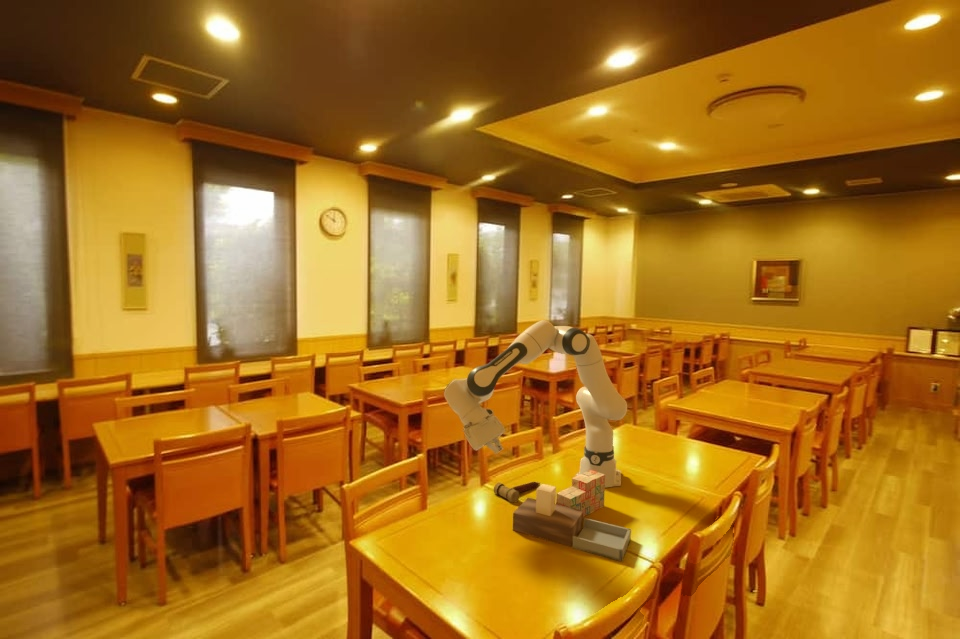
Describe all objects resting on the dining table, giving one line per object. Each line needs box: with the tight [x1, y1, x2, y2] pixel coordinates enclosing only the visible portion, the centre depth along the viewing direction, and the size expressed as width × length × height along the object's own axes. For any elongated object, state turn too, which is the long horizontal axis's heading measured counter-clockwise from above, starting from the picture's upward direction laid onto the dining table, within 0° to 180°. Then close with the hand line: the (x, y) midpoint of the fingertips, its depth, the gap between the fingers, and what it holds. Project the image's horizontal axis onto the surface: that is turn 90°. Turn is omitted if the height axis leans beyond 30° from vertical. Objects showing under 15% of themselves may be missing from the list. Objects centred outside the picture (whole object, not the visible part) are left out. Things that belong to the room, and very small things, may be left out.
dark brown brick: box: [512, 497, 584, 548], centre depth 157 cm, size 13×20×6 cm, turn 62°
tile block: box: [535, 483, 557, 516], centre depth 157 cm, size 5×5×8 cm
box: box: [572, 517, 632, 562], centre depth 148 cm, size 14×15×4 cm
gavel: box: [493, 481, 541, 504], centre depth 185 cm, size 21×5×10 cm
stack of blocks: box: [555, 470, 605, 518], centre depth 169 cm, size 21×6×12 cm, turn 133°
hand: (499, 451), depth 164 cm, fingers closed
